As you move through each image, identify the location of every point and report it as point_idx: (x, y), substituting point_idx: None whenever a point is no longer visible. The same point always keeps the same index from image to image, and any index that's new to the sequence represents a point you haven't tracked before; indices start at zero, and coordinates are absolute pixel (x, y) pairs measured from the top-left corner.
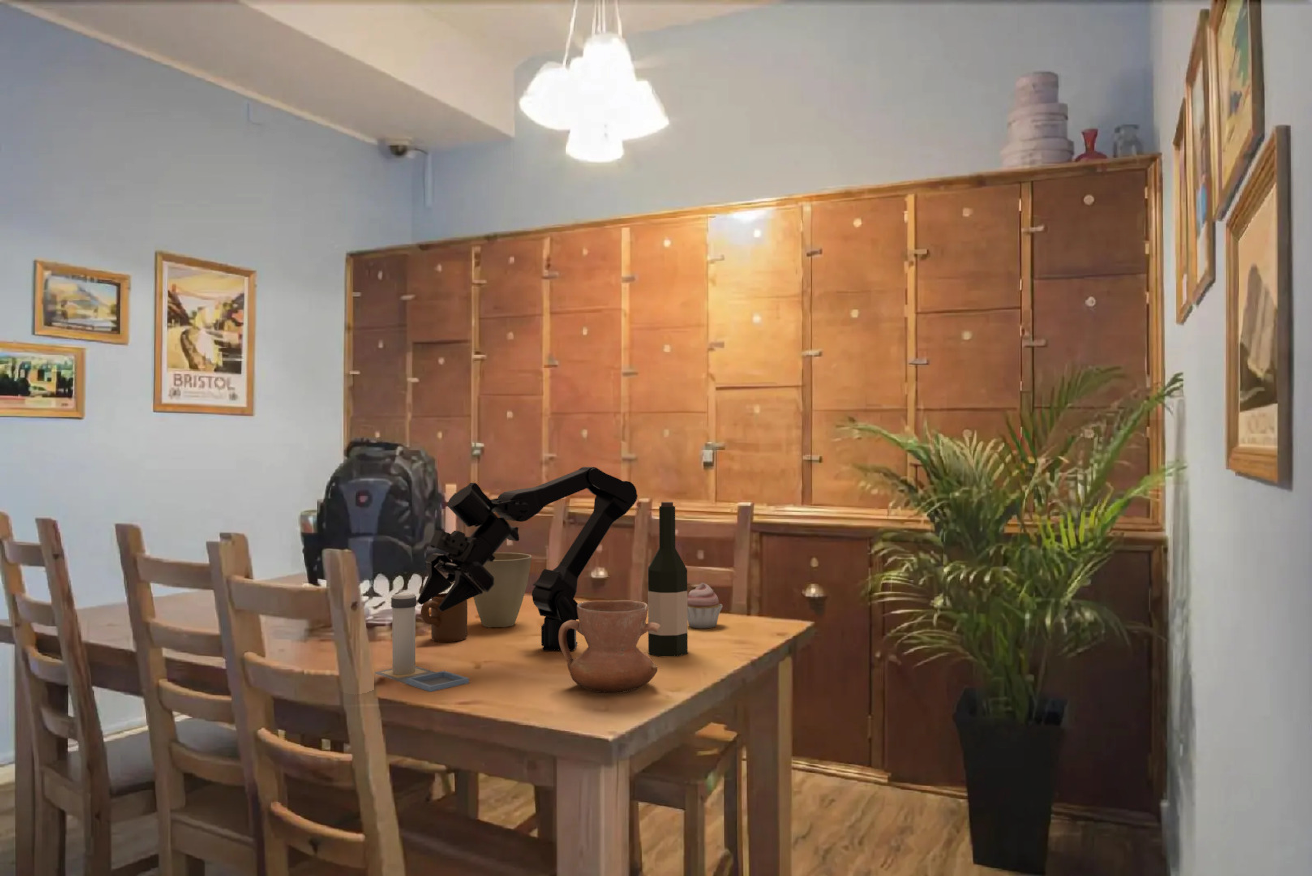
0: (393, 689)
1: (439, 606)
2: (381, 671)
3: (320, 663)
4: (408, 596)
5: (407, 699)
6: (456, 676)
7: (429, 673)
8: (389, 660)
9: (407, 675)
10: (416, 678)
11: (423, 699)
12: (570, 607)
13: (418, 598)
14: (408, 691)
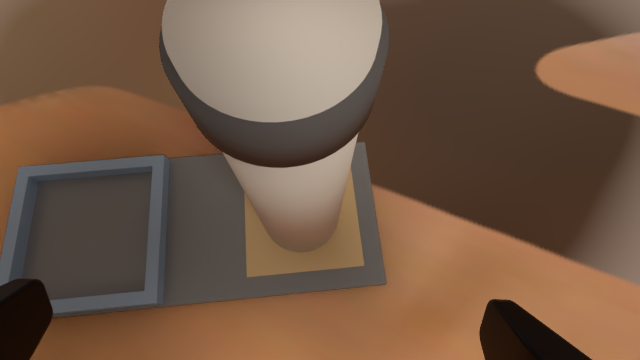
0: (161, 121)
1: (14, 284)
2: (361, 167)
3: (595, 88)
4: (165, 13)
5: (42, 107)
6: (55, 300)
7: (224, 274)
8: (526, 265)
9: (250, 203)
10: (152, 186)
11: (4, 136)
12: None
13: (524, 312)
14: (108, 141)
